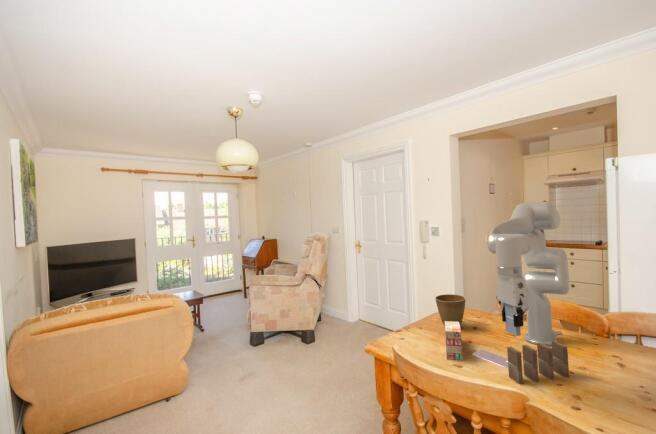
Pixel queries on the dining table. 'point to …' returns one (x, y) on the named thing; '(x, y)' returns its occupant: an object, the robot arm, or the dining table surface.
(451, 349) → the colourful printed box
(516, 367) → the domino
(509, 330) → the domino
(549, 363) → the domino
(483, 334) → the dining table surface
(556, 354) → the domino
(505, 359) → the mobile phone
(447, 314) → the plant pot
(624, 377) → the dining table surface
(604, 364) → the dining table surface
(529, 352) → the domino
